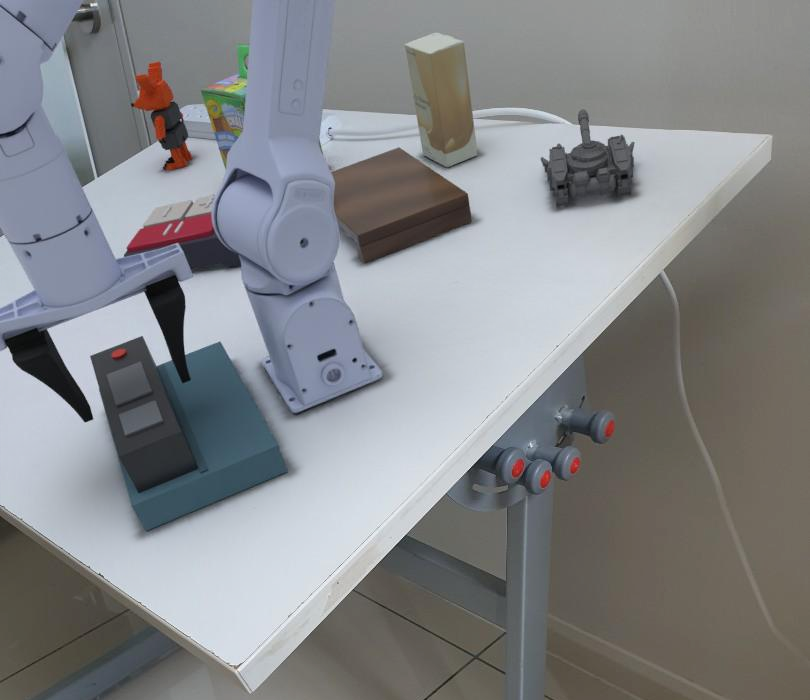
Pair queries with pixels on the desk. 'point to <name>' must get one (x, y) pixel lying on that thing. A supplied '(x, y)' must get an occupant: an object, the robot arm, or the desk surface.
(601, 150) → the tank toy
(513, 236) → the desk surface
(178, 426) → the remote
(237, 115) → the chalk box
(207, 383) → the teal grooved block
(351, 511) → the desk surface
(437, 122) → the cosmetic box
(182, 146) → the toy animal
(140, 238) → the calculator
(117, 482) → the desk surface
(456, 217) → the wooden keepsake box
